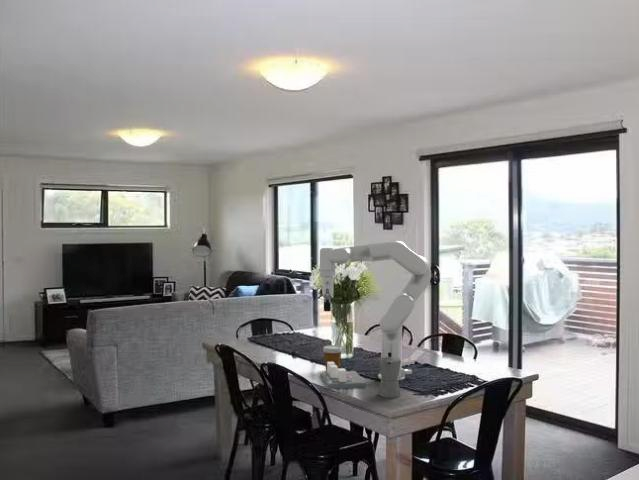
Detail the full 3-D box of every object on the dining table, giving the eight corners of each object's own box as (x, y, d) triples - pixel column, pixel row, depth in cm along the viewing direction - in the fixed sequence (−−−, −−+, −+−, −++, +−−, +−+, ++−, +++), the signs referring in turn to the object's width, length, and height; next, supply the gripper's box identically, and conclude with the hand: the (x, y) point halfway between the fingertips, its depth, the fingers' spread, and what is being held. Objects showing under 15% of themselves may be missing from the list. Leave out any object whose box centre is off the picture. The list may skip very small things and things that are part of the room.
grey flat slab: (355, 375, 290) (355, 370, 290) (365, 387, 268) (365, 382, 268) (320, 376, 287) (320, 372, 287) (327, 388, 266) (327, 384, 266)
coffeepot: (400, 399, 249) (400, 356, 249) (377, 398, 251) (377, 355, 250) (401, 389, 264) (401, 348, 264) (379, 388, 266) (379, 347, 265)
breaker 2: (336, 375, 280) (336, 364, 279) (337, 378, 275) (337, 367, 275) (329, 376, 279) (329, 365, 279) (331, 378, 275) (331, 367, 275)
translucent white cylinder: (425, 351, 318) (391, 357, 302) (425, 362, 318) (391, 369, 302) (416, 349, 322) (382, 355, 307) (416, 360, 322) (382, 367, 307)
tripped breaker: (344, 379, 273) (344, 368, 273) (346, 381, 269) (346, 370, 268) (337, 379, 273) (337, 368, 272) (339, 382, 268) (339, 370, 268)
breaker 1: (333, 372, 286) (333, 361, 286) (335, 374, 282) (335, 363, 282) (327, 372, 286) (327, 361, 286) (328, 374, 282) (328, 363, 281)
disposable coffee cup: (325, 374, 292) (325, 349, 291) (320, 369, 301) (320, 345, 300) (344, 373, 294) (344, 348, 294) (338, 368, 303) (338, 344, 303)
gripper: (335, 275, 281) (335, 312, 281) (334, 272, 298) (334, 307, 298) (319, 275, 281) (319, 312, 281) (319, 272, 298) (319, 307, 298)
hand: (327, 309), depth 290 cm, fingers open, 9 cm apart
